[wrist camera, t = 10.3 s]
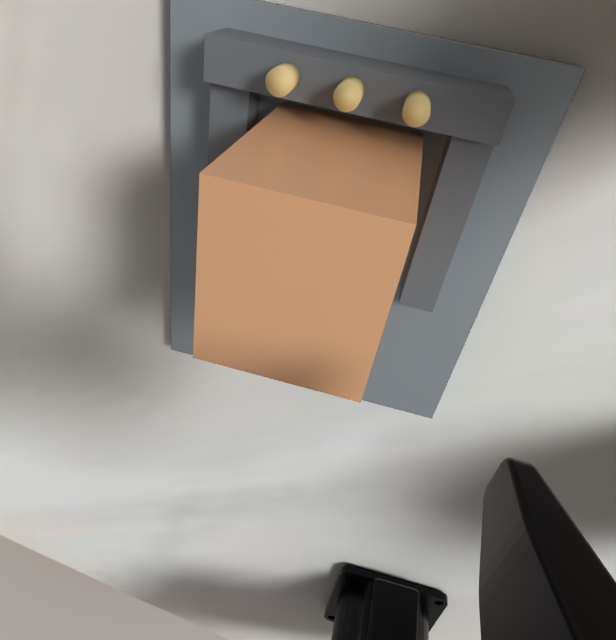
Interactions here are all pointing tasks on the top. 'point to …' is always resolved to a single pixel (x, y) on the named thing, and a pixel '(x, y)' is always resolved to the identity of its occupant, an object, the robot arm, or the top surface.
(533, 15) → the top surface
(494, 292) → the top surface
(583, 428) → the top surface
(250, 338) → the block
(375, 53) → the flat gray board
